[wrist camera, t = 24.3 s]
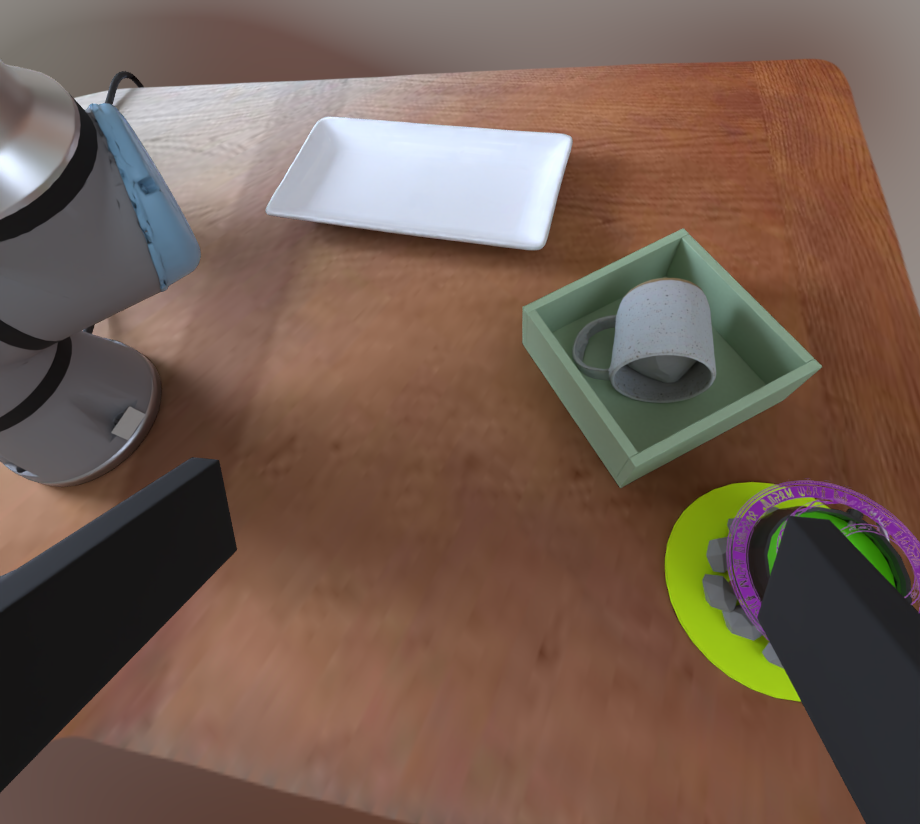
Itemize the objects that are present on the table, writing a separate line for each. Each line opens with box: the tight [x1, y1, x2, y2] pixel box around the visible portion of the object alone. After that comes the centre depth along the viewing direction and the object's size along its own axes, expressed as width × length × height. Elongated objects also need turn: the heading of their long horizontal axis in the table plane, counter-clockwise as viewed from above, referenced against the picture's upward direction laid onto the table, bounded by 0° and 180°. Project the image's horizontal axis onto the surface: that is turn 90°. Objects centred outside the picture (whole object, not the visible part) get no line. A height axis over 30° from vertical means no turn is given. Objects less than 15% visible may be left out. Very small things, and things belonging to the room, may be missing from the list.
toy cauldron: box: [665, 478, 920, 702], centre depth 29 cm, size 15×15×11 cm
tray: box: [266, 117, 573, 250], centre depth 53 cm, size 17×31×4 cm, turn 74°
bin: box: [523, 228, 822, 488], centre depth 40 cm, size 16×16×6 cm
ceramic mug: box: [572, 278, 716, 403], centre depth 39 cm, size 11×8×8 cm
